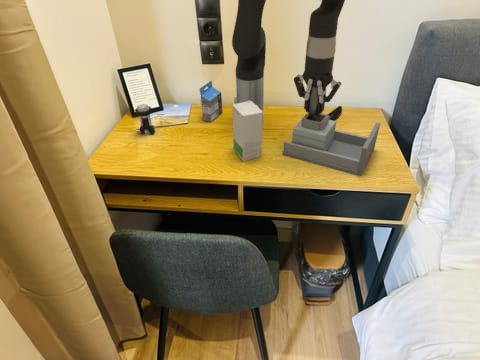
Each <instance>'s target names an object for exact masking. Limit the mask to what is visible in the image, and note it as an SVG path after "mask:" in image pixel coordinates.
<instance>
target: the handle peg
mask: <svg viewBox="0 0 480 360" xmlns="http://www.w3.org/2000/svg"><path fill="white" fill-rule="evenodd" d="M318 103H319V95H318V87H315V86H312V88H311V92H310V102H309V112H307V113H308V119H309V120H313V121H318V115H319V114H317V110H318Z"/></svg>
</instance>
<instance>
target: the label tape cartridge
mask: <svg viewBox="0 0 480 360" xmlns="http://www.w3.org/2000/svg"><path fill="white" fill-rule="evenodd" d="M199 93H200V94H199V95H200V104H201V113H202V115H201V116H202V121H203V122H209V123H212V122H214V121H215V120H216V118H218V117H219V116H220V115H221V114H222V113H223V102H222V101H223V100H222V99H223V98H222V92H221V91H220V90H219V89H216V88H215V87H214V86H213V80H210V81H208V82H207V83H206V84H204V85H203V86H201V87H200V88H199Z"/></svg>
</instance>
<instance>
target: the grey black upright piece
mask: <svg viewBox="0 0 480 360" xmlns="http://www.w3.org/2000/svg"><path fill="white" fill-rule="evenodd" d="M134 112H135V114H136V115H137V116H138V117H139V121H140V127H139V128H136V129H135V130H136V133H140V134H141V135H145V136H146V135H147V136H148V135H151V136H153V135H155V133H156V128H155V125H154V124H153V123H152V118H151V114H152V107H151V106H149V105H148V104H139V105H137V107H136V108H135V109H134Z"/></svg>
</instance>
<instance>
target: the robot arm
mask: <svg viewBox="0 0 480 360" xmlns="http://www.w3.org/2000/svg"><path fill="white" fill-rule="evenodd" d="M266 1H267V0H238V1H237V2H238V3H237V4H238V5H237V10H236V11H237V13H236V17H235V22H234V27H233V29H234V30H233V32H232V33H233V34H232V40H231V45H232V50H233V51H234V53H235V55H236V56H237V60H236V66H235V84H236V85H235V86H236V87H235V88H236V89H235V90H236V96H235V98H234V99H233V101H234V104H237V103H242V102H247V101H252V102H253V103H254V104H255V105H257V106H258V108H259V109H260V110H262V111H263V112H264V99H265V98H264V92H265V90H264V85H265V84H264V83H265V81H264V79H265V75H264V72H265V65H266V52H267V51H266V49H267V48H266V47H267V46H266V45H267V43H266V42H267V39H266V32H265V30H264V28H263V27H262V19H263V13H264V8H265V5H266ZM345 1H346V0H321V2H320V5H319V7H317V8H315V10H313V11H312V12H311V13H310V15H309V25H308V35H307V36H308V37H307V41H306V49H305V58H304V59H305V61H304V71H303V73H302V74H297V75H296V76H295V77H294V78H293V82H294V85H295V88H296V91H297V94H298V97H299V98H303V99H304V102H303V103H304V105H303V109H304V110H305V112H306V113H308V112H309V102H310V92H311V88H312V86H315V87H318V95H319V103H318V110H317V114H319V115H320V114H321V113H323V112H324V111H325V104H326V103H330V102H331V101H332V99H333V98H334V97H335V95H336V94H337V92H338V90H339V89H340V87H341V86H342V82H341V81H337V80H335V79H334V76H333V69H334V62H335V61H334V60H335V55H336V49H337V48H336V46H337V32H338V25H339V23H338V22H339V17H340V15H341V12H342V10H343V8H344V4H345ZM303 82H304V83H305V84H306V88H305V85H304V83H303ZM330 84H331V85H330ZM329 85H330V88H331V91H330V92H329V93H328V95H327V87H328V86H329Z"/></svg>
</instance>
